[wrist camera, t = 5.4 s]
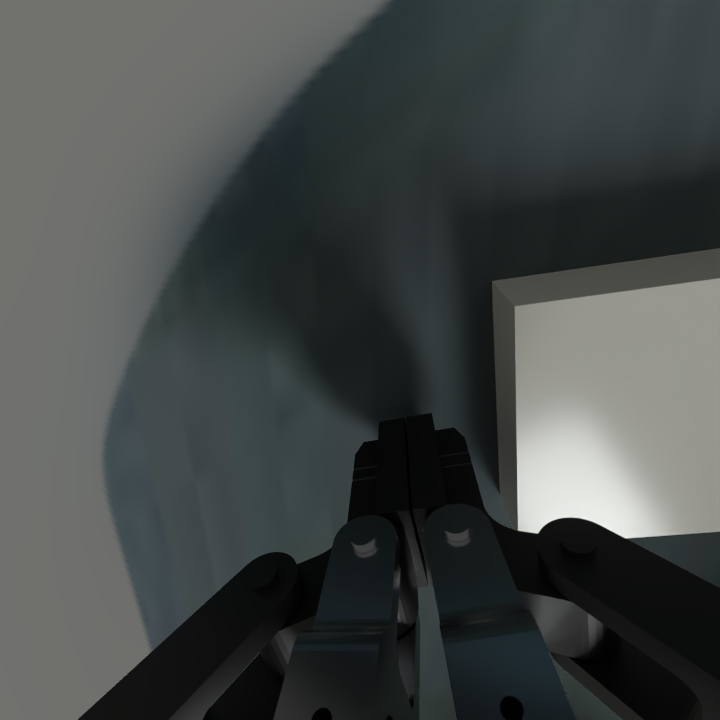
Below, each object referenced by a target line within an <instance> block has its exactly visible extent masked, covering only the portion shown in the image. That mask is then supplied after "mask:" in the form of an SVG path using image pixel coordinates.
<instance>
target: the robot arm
mask: <svg viewBox="0 0 720 720" xmlns="http://www.w3.org/2000/svg"><path fill="white" fill-rule="evenodd" d="M406 422H407V424H406ZM426 568H427V569H426ZM427 572H428V576H429V580H430V584H431V586H433V588H434V593H435V598H436V604H437V609H438V614H439V620H440V631H441V637H442V643H443V648H444V653H445V659H446V664H447V669H448V675H449V680H450V686H451V691H452V696H453V702H454V707H455V712H456V718H457V720H576V718H575V715H574V713H573V710H572V708H571V705H570V703H569V701H568V698H567V696H566V693H565V691H564V688H563V686H562V683H561V681H560V678H559V676H558V673H557V671H556V668H555V666H554V664H553V661H552V659H551V656H550V654H549V652H550V653H551V655H552V657H553V658H554V659H555V660H556V662H557V663H558V664H559V665H560V666H561V667H562V668H564V669H565V670H566V671H567V672H568V673H569V674H571V675H572V676H573V677H574V678H575V679H576V680H578V681H579V682H580V683H581V684H582V685H583V686H585V687H586V688H587V689H588V690H589V691H590V692H592V693H593V694H594V695H595V696H596V697H597V698H599V699H600V700H601V701H602V702H603V703H604V704H606V705H607V706H608V707H609V708H610V709H611V710H613V711H614V712H615V713H616V714H617V715H618V716H620V717H621V718H622V719H623V720H720V588H718V587H717V586H715V585H713V584H711V583H709V582H707V581H705V580H703V579H701V578H699V577H698V576H696V575H694V574H692V573H690V572H688V571H686V570H684V569H682V568H680V567H679V566H677V565H675V564H673V563H671V562H669V561H667V560H665V559H663V558H661V557H660V556H658V555H656V554H654V553H652V552H650V551H648V550H646V549H644V548H642V547H641V546H639V545H637V544H635V543H633V542H631V541H629V540H627V539H625V538H623V537H622V536H620V535H618V534H616V533H614V532H612V531H610V530H608V529H606V528H604V527H603V526H601V525H599V524H596V523H594V522H592V521H589V520H586V519H581V518H572V517H570V518H560V519H556V520H553V521H551V522H549V523H547V524H546V525H545V526H543V528H542V529H541V530H540V532H539V533H538V534H537V533H530V532H523V531H517V530H513V529H510V528H507V527H505V526H503V525H501V524H499V523H497V522H496V521H495V520H493V519H492V518H491V517H490V516H489V515H488V513H487V512H486V510H485V508H484V505H483V502H482V498H481V495H480V491H479V487H478V484H477V480H476V476H475V473H474V469H473V466H472V462H471V458H470V455H469V452H468V448H467V444H466V440H465V437H464V436H462V435H461V434H460V433H459V432H458V431H457V430H456V429H455V428H448V429H442V430H436V431H435V427H434V422H433V417H432V413H428V414H422V415H416V416H410V417H406V420H405V418H399V419H393V420H387V421H381V422H379V434H378V440H374V441H368V442H364V443H363V444H362V446H361V447H360V449H359V450H358V452H357V453H356V455H355V462H354V471H353V482H352V488H351V496H350V505H349V513H348V522H347V523H346V524H345V525H344V526H343V527H342V528H341V529H340V530H339V531H338V533H337V534H336V536H335V538H334V541H333V545H332V548H331V549H329V550H328V551H326V552H325V553H323V554H321V555H319V556H316V557H314V558H311V559H309V560H307V561H304V562H302V563H299V564H296V562H295V560H294V559H293V558H292V557H291V556H290V555H288V554H286V553H282V552H272V553H268V554H265V555H262V556H260V557H258V558H256V559H254V560H253V561H251V562H250V563H249V564H248V565H246V566H245V567H244V568H243V569H242V570H241V571H240V572H239V573H238V574H237V575H235V576H234V577H233V578H232V579H231V580H230V581H229V582H228V583H227V584H226V585H224V586H223V587H222V588H221V589H220V590H219V591H218V592H217V593H216V594H215V595H214V596H212V597H211V598H210V599H209V600H208V601H207V602H206V603H205V604H204V605H203V606H201V607H200V608H199V609H198V610H197V611H196V612H195V613H194V614H193V615H192V616H191V617H189V618H188V619H187V620H186V621H185V622H184V623H183V624H182V625H181V626H180V627H178V628H177V629H176V630H175V631H174V632H173V633H172V634H171V635H170V636H169V637H168V638H166V639H165V640H164V641H163V642H162V643H161V644H160V645H159V646H158V647H157V648H156V649H154V650H153V651H152V652H151V653H150V654H149V655H148V656H147V657H146V658H145V659H143V660H142V661H141V662H140V663H139V664H138V665H137V666H136V667H135V668H134V669H133V670H131V671H130V672H129V673H128V674H127V675H126V676H125V677H124V678H123V679H122V680H120V681H119V683H117V684H116V685H115V686H114V687H113V688H112V689H111V690H110V691H109V692H107V693H106V694H105V695H104V696H103V697H102V698H101V699H100V700H99V701H98V702H96V703H95V704H94V705H93V706H92V707H91V708H90V709H89V710H88V711H87V712H85V713H84V714H83V715H82V716H81V717H80V718H79V719H78V720H420V719H419V687H420V618H419V615H418V608H419V605H418V590H417V587H426V586H428V580H427ZM259 652H260V653H259ZM258 653H259V654H258ZM257 654H258V656H257V657H256V655H257ZM255 657H256V658H255ZM254 658H255V659H254ZM253 659H254V660H253ZM252 660H253V661H252ZM251 661H252V662H251ZM250 662H251V663H250ZM249 663H250V664H249ZM248 664H249V665H248ZM247 665H248V667H247V668H246V666H247ZM245 668H246V669H245ZM244 669H245V670H244ZM243 670H244V671H243ZM242 671H243V672H242ZM241 672H242V673H241ZM240 673H241V674H240ZM239 674H240V675H239ZM238 675H239V676H238ZM237 676H238V677H237ZM236 677H237V679H236V680H235V678H236ZM234 680H235V681H234ZM233 681H234V682H233ZM232 682H233V683H232ZM231 683H232V684H231ZM230 684H231V685H230ZM229 685H230V686H229ZM228 686H229V687H228ZM227 687H228V688H227ZM226 688H227V690H226V691H225V689H226ZM224 691H225V692H224ZM223 692H224V693H223ZM222 693H223V694H222ZM221 694H222V695H221ZM220 695H221V696H220ZM219 696H220V697H219ZM218 697H219V698H218ZM217 698H218V699H217ZM216 699H217V701H216V702H215V700H216ZM214 702H215V703H214ZM213 703H214V704H213ZM212 704H213V705H212ZM211 705H212V706H211ZM210 706H211V707H210Z"/></svg>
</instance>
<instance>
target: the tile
mask: <svg viewBox="0 0 720 720" xmlns="http://www.w3.org/2000/svg"><path fill="white" fill-rule="evenodd" d="M492 299H493V325H494V352H495V378H496V404H497V431H498V457H499V484H500V495H501V498H502V501H503V504H504V507H505V510H506V513H507V516H508V518H509V521H510V524H511V527H512V529H513V530H517V531H523V532H530V533H537V534H538V533H539V532H540V530H541V529H542V528H543V526H545V525H546V524H547V523H549V522H551V521H553V520H556V519H560V518H570V517H572V518H581V519H586V520H589V521H592V522H594V523H596V524H599V525H601V526H603V527H604V528H606V529H608V530H610V531H612V532H614V533H616V534H618V535H620V536H622V537H623V538H639V537H653V536H666V535H680V534H694V533H708V532H720V248H718V249H711V250H704V251H697V252H690V253H683V254H676V255H669V256H662V257H655V258H648V259H641V260H634V261H627V262H621V263H614V264H607V265H600V266H593V267H586V268H579V269H572V270H565V271H558V272H551V273H544V274H537V275H530V276H524V277H517V278H510V279H503V280H496V281H492Z"/></svg>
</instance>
